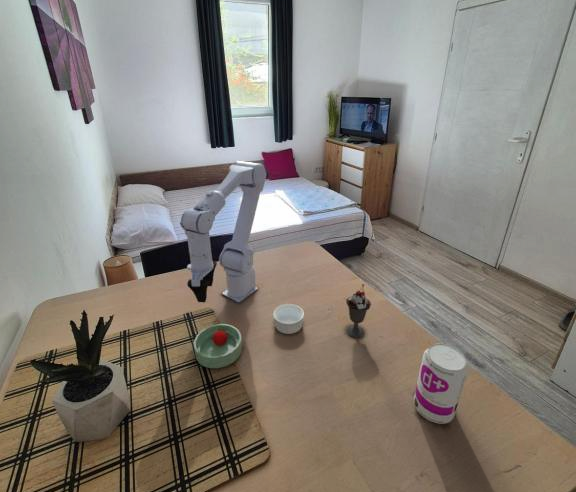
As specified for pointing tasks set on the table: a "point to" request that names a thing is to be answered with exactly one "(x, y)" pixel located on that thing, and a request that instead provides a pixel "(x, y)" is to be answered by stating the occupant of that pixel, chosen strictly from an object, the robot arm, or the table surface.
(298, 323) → the ramekin
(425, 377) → the supplement can
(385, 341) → the table surface
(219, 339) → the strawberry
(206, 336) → the bowl
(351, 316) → the sundae
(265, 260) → the table surface
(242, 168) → the robot arm
